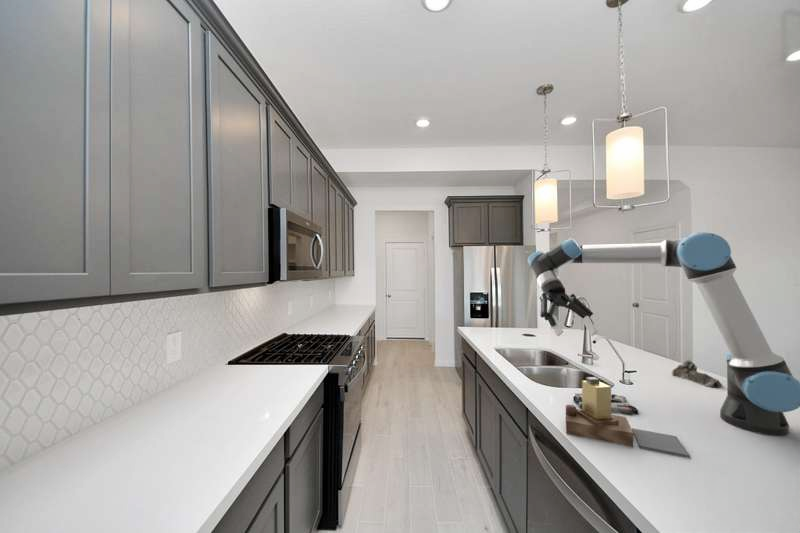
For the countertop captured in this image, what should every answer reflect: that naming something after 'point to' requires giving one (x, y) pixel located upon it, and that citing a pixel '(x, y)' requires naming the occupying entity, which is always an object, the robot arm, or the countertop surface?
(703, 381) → the rock
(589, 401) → the labelled wooden block
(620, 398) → the toy gun
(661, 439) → the mat
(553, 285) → the robot arm
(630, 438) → the body
